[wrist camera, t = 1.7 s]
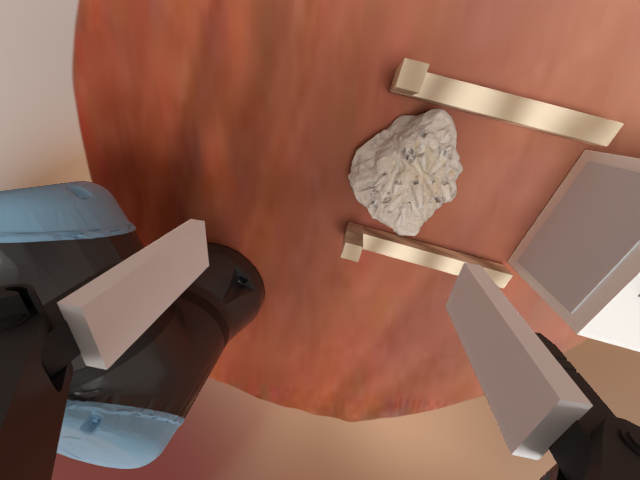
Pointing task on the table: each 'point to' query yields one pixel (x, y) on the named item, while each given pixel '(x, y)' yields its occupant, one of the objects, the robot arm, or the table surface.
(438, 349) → the table surface
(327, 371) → the table surface
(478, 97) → the track
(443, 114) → the rock
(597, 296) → the white button box
